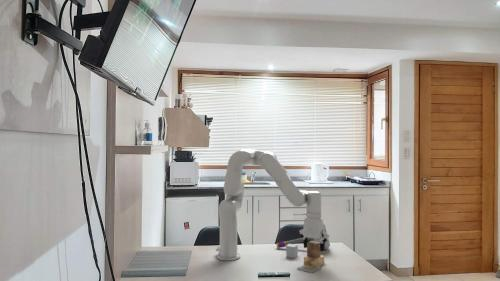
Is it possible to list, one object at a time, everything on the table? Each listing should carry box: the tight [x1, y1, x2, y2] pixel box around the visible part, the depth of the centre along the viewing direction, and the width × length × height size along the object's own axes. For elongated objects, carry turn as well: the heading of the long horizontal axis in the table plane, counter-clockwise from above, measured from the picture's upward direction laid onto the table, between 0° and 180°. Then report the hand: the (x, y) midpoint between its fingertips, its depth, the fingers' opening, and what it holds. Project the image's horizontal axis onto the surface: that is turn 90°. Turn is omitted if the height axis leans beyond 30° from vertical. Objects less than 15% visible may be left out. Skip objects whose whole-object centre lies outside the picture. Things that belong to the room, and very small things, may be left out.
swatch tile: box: [297, 264, 322, 274], centre depth 176 cm, size 8×8×1 cm
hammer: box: [276, 222, 331, 250], centre depth 213 cm, size 15×8×30 cm
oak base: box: [303, 254, 325, 268], centre depth 185 cm, size 8×8×4 cm
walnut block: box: [306, 240, 322, 258], centre depth 185 cm, size 5×5×7 cm
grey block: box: [285, 243, 299, 259], centre depth 198 cm, size 5×5×6 cm
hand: (314, 249), depth 185 cm, fingers open, 9 cm apart
